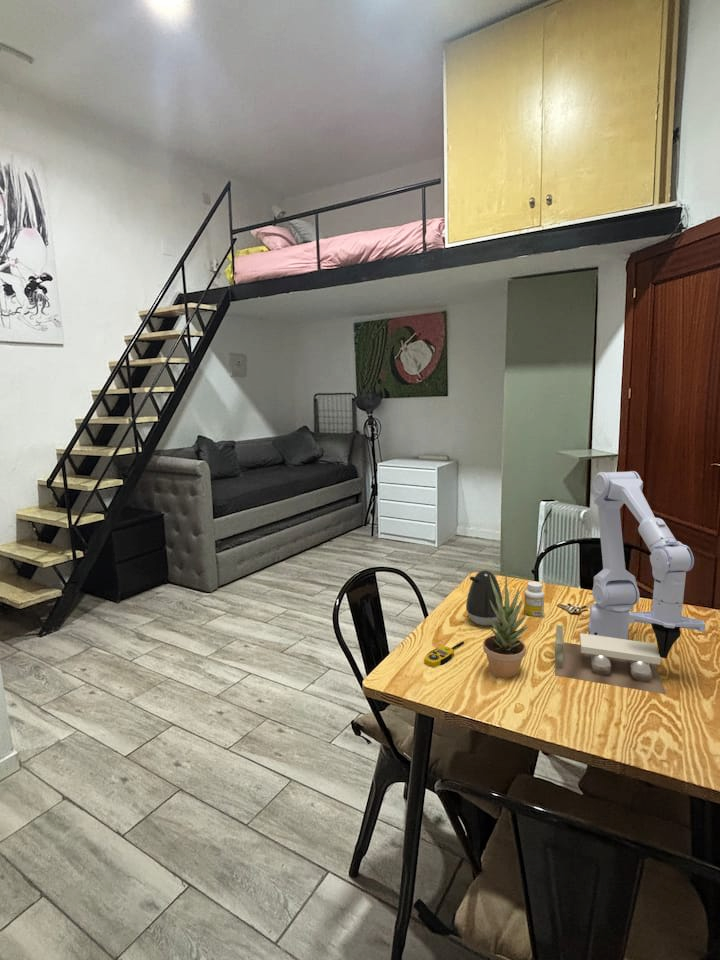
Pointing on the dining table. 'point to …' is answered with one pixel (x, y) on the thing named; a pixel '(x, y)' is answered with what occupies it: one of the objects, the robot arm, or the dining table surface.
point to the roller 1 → (600, 664)
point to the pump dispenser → (482, 598)
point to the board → (580, 667)
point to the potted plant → (505, 637)
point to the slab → (619, 648)
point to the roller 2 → (640, 670)
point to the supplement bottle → (534, 600)
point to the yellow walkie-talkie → (440, 656)
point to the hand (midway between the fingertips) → (662, 655)
